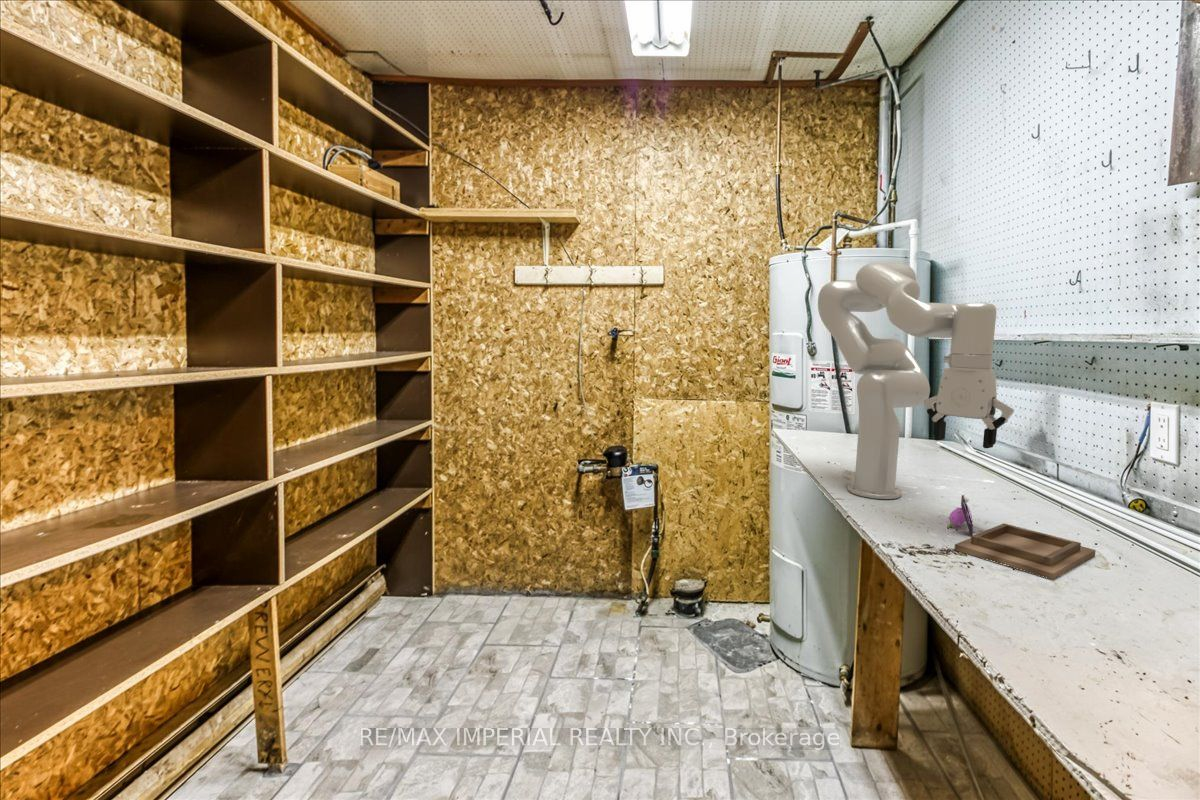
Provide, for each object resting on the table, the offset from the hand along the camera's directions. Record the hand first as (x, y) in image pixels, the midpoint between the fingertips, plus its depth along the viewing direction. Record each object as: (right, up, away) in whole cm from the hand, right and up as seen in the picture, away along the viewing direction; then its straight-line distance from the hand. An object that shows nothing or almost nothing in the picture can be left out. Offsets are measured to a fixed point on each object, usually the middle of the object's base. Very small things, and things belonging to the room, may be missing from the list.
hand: (963, 443), depth 127 cm
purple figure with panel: (0, -19, +1) cm, 19 cm away
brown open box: (+4, -20, -13) cm, 24 cm away
